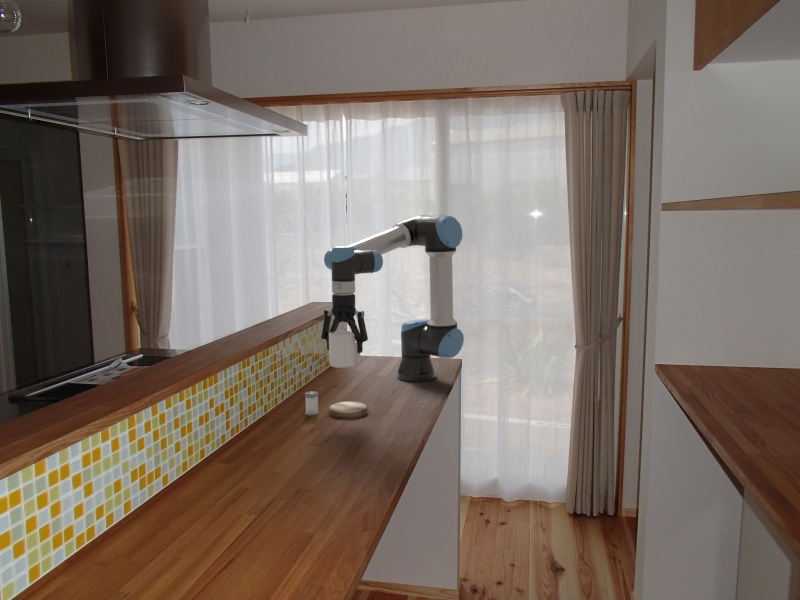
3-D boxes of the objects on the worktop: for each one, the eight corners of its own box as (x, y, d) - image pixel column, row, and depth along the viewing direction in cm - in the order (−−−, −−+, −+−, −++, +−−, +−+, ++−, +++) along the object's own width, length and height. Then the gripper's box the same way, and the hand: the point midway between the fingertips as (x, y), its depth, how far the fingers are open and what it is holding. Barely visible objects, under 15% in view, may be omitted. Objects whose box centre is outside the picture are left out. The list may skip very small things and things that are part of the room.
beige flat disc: (339, 405, 227) (339, 399, 227) (373, 408, 223) (373, 403, 223) (321, 416, 215) (321, 410, 215) (358, 420, 211) (357, 414, 211)
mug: (363, 360, 222) (362, 329, 220) (349, 369, 211) (348, 336, 209) (340, 358, 224) (339, 328, 223) (325, 367, 213) (324, 334, 212)
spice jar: (309, 410, 221) (308, 390, 220) (320, 412, 220) (320, 392, 219) (303, 414, 217) (302, 394, 216) (314, 415, 216) (314, 395, 215)
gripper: (309, 293, 215) (311, 361, 218) (368, 296, 207) (369, 366, 210) (320, 290, 222) (321, 356, 225) (378, 293, 214) (378, 361, 217)
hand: (344, 361), depth 217 cm, fingers closed on mug, 9 cm apart
